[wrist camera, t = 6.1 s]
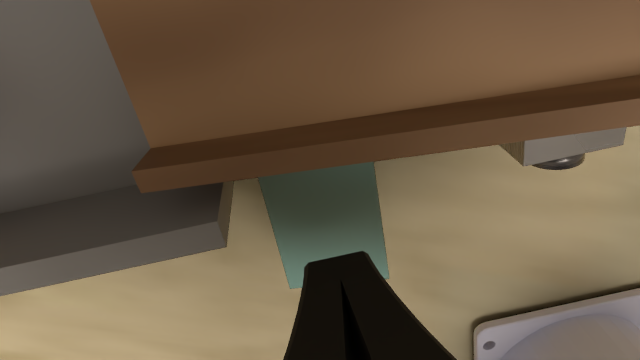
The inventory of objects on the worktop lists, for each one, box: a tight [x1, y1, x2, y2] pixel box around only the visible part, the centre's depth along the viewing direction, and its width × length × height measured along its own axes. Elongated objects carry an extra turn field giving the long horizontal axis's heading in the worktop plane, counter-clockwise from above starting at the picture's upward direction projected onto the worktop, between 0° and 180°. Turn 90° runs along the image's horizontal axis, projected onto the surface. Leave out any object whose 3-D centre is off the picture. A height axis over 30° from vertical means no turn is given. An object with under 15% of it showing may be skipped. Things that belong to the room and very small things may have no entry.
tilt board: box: [90, 0, 640, 289], centre depth 10 cm, size 10×20×3 cm, turn 100°
